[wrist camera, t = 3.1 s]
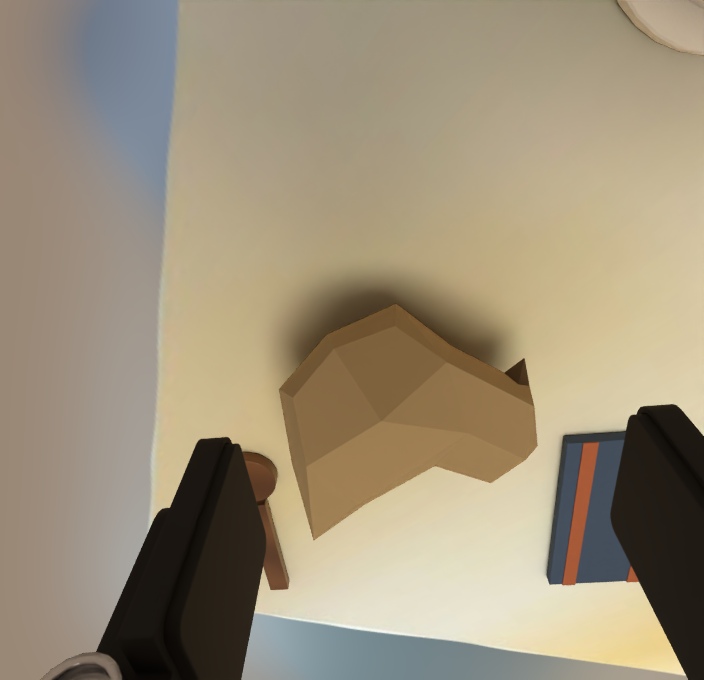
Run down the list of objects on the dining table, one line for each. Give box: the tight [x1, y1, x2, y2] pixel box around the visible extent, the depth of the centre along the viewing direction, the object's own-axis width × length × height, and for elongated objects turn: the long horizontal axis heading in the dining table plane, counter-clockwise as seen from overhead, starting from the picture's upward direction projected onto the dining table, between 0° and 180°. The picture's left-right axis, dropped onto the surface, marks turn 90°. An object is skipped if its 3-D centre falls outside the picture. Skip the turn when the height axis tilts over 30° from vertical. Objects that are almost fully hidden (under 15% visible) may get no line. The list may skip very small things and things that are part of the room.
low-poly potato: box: [279, 304, 537, 540], centre depth 28 cm, size 15×11×12 cm
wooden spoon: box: [243, 452, 289, 590], centre depth 40 cm, size 14×4×1 cm, turn 6°
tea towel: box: [547, 432, 639, 585], centre depth 38 cm, size 15×8×1 cm, turn 6°
